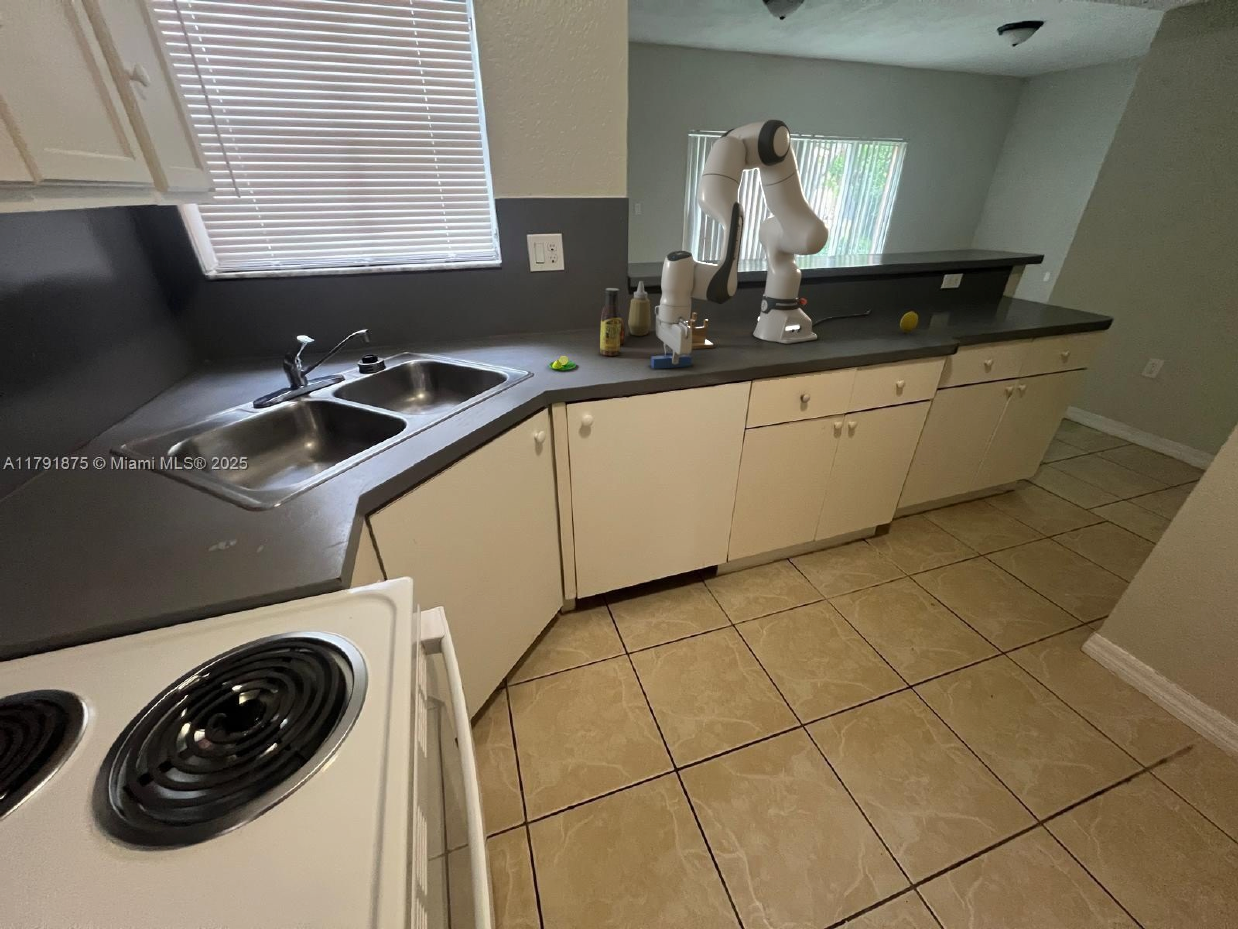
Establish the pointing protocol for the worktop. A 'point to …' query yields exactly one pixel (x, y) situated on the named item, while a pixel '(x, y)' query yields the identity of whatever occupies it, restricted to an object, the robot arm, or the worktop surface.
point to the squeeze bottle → (639, 312)
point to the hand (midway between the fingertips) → (671, 360)
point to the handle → (666, 361)
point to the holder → (699, 334)
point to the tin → (622, 332)
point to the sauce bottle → (610, 324)
